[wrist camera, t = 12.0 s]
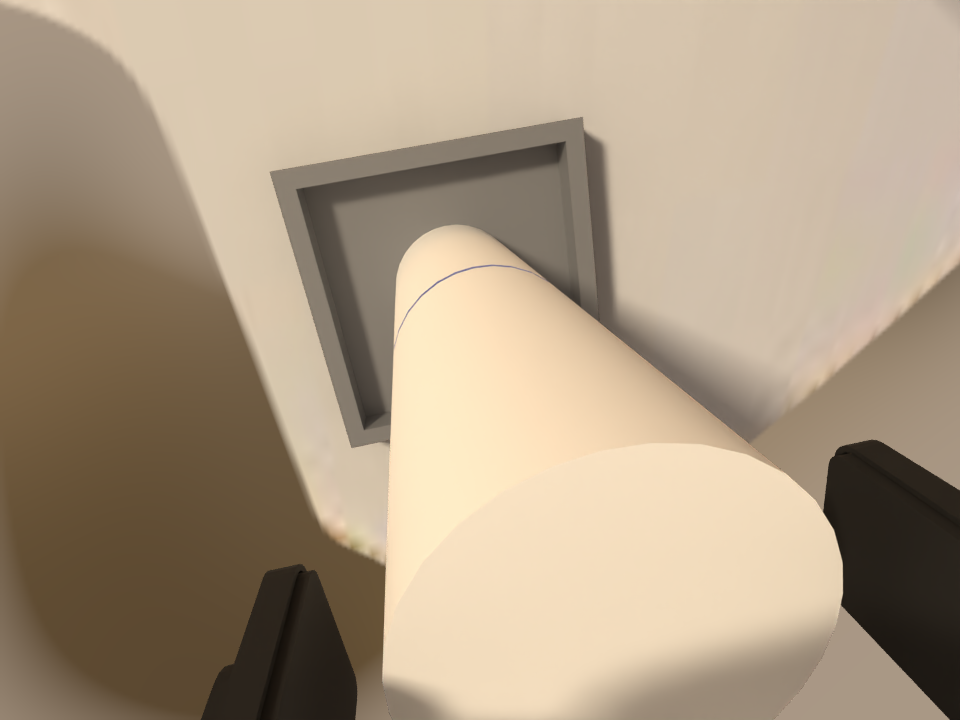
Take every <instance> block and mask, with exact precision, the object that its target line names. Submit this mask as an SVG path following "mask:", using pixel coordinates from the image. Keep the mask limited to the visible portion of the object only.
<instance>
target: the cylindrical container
mask: <svg viewBox="0 0 960 720" xmlns="http://www.w3.org/2000/svg"><path fill="white" fill-rule="evenodd" d="M842 596H843V562H842V558H841V554H840V551H839V547H838V543H837V540H836V536H835V532H834V530H833V528H832V526H831V525H830V523H829V521H828V520H827V518H826V516H825V515H824V513H823V512H822V510H821V508H820V507H819V505H818V504H817V502H816V500H815V499H814V498H812V496H810V495H809V494H808V493H807V492H806V491H805V490H804V489H803V488H801V487H800V486H799V485H798V484H797V483H796V482H795V481H794V480H793V479H791V478H790V477H789V476H788V475H787V474H786V473H785V472H783V471H782V470H781V469H780V468H778V467H777V466H776V465H775V464H773V463H772V462H771V461H770V460H769V459H767V458H766V457H765V456H764V455H762V454H761V453H760V452H759V451H757V450H756V449H755V448H754V447H753V446H751V445H750V444H749V443H748V442H746V441H745V440H744V439H743V438H741V437H740V436H739V435H738V434H736V433H735V432H734V431H733V430H732V429H730V428H729V427H728V426H727V425H725V424H724V423H723V422H722V421H720V420H719V419H718V418H717V417H715V416H714V415H713V414H712V413H711V412H709V411H708V410H707V409H706V408H704V407H703V406H702V405H701V404H699V403H698V402H697V401H696V400H694V399H693V398H692V397H691V396H690V395H688V394H687V393H686V392H685V391H683V390H682V389H681V388H680V387H678V386H677V385H676V384H675V383H673V382H672V381H671V380H670V379H669V378H667V377H666V376H665V375H664V374H662V373H661V372H660V371H659V370H657V369H656V368H655V367H654V366H652V365H651V364H650V363H649V362H648V361H646V360H645V359H644V358H643V357H641V356H640V355H639V354H638V353H636V352H635V351H634V350H633V349H631V348H630V347H629V346H628V345H627V344H625V343H624V342H623V341H622V340H620V339H619V338H618V337H617V336H615V335H614V334H613V333H612V332H610V331H609V330H608V329H607V328H605V327H604V326H603V325H602V324H600V323H599V322H598V321H597V320H596V319H594V318H593V317H592V316H591V315H589V314H588V313H587V312H586V311H584V310H583V309H582V308H581V307H579V306H578V305H577V304H576V303H574V302H573V301H572V300H571V299H569V298H568V297H567V296H566V295H565V294H563V293H562V292H561V291H560V290H558V289H557V288H556V287H555V286H553V285H552V284H551V283H550V282H548V281H547V280H546V279H545V278H543V277H542V276H541V275H540V274H539V273H537V272H536V271H535V270H534V269H532V268H531V267H530V266H529V265H527V264H526V263H525V262H524V261H523V260H521V259H520V258H519V257H518V256H516V255H515V254H514V253H513V252H511V251H510V250H509V249H508V248H506V247H505V246H504V245H503V244H501V243H500V242H499V241H498V240H496V239H495V238H494V237H493V236H492V235H490V234H488V233H486V232H484V231H483V230H481V229H478V228H474V227H471V226H467V225H448V226H443V227H439V228H436V229H433V230H431V231H429V232H427V233H426V234H424V235H422V236H421V237H420V238H419V239H417V240H416V241H415V242H414V243H413V244H412V245H411V246H410V248H409V249H408V250H407V251H406V253H405V254H404V256H403V258H402V260H401V262H400V264H399V268H398V272H397V276H396V296H395V322H394V354H393V383H392V409H391V436H390V464H389V494H388V524H387V555H386V585H385V615H384V646H383V676H382V678H383V679H382V683H383V687H384V691H385V696H386V701H387V706H388V710H389V714H390V716H391V718H392V720H774V719H775V718H776V717H777V716H778V714H779V713H780V712H781V711H782V710H783V709H784V708H785V706H787V705H788V703H789V702H790V701H791V700H792V699H793V698H794V697H795V696H796V695H797V694H798V692H799V691H800V690H801V689H802V688H803V686H804V684H805V683H806V682H807V680H808V678H809V677H810V675H811V674H812V672H813V671H814V669H815V668H816V666H817V665H818V663H819V662H820V660H821V659H822V657H823V655H824V652H825V650H826V648H827V645H828V643H829V641H830V638H831V636H832V634H833V631H834V629H835V627H836V623H837V619H838V614H839V609H840V605H841V600H842Z"/></svg>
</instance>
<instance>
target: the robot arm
mask: <svg viewBox="0 0 960 720" xmlns="http://www.w3.org/2000/svg"><path fill="white" fill-rule="evenodd" d="M823 513H824V515H825V516H826V518H827V520H828V521H829V523H830V525H831V526H832V528H833V530H834V532H835V536H836V540H837V543H838V547H839V551H840V554H841V558H842V562H843V596H842V600H841V605H842V607H843V608H845V610H846V611H847V612H848V613H849V614H850V615H851V616H852V617H853V618H854V619H855V620H856V621H857V622H858V623H859V625H861V627H863V629H864V630H865V631H866V632H867V633H868V634H869V635H870V636H871V637H872V638H873V639H874V640H875V641H876V642H877V643H878V644H879V646H880V647H881V648H882V649H883V650H884V651H885V652H886V653H887V654H888V655H889V656H890V657H891V658H892V659H893V660H894V661H895V662H896V663H897V665H898V666H899V667H901V668H902V670H903V671H904V672H905V673H906V674H907V675H908V676H909V677H910V678H911V679H912V680H913V681H914V682H915V683H916V684H917V686H918V687H919V688H920V689H921V690H922V691H923V692H924V693H925V694H926V695H927V696H928V697H929V698H930V699H931V700H932V701H933V702H934V703H935V705H937V707H938V708H939V709H940V710H941V711H942V712H943V713H944V714H945V715H946V716H947V717H948V718H949V719H950V720H960V490H958V489H956V488H955V487H953V486H952V485H950V484H948V483H947V482H945V481H943V480H942V479H940V478H939V477H937V476H935V475H934V474H932V473H931V472H929V471H927V470H926V469H924V468H923V467H921V466H919V465H918V464H916V463H914V462H913V461H911V460H910V459H908V458H906V457H905V456H903V455H901V454H900V453H898V452H897V451H895V450H893V449H892V448H890V447H889V446H887V445H885V444H884V443H882V442H879V441H877V440H868V441H863V442H859V443H854V444H849V445H845V446H842V447H839V448H838V449H837V451H836V453H835V456H834V457H832V458H831V459H830V462H829V467H828V476H827V485H826V494H825V501H824V510H823ZM356 704H357V684H356V678H355V674H354V671H353V668H352V666H351V663H350V660H349V658H348V655H347V652H346V650H345V647H344V644H343V641H342V639H341V636H340V633H339V631H338V628H337V625H336V623H335V620H334V617H333V615H332V612H331V609H330V606H329V604H328V601H327V598H326V596H325V593H324V590H323V587H322V585H321V582H320V580H319V577H318V574H317V572H316V571H315V570H312V571H306V569H305V567H304V566H303V565H302V564H298V565H293V566H289V567H284V568H280V569H275V570H270V571H268V572H266V573H265V575H264V577H263V580H262V583H261V586H260V589H259V592H258V595H257V598H256V601H255V604H254V607H253V610H252V612H251V616H250V618H249V621H248V625H247V628H246V631H245V633H244V636H243V639H242V642H241V645H240V649H239V651H238V654H237V657H236V660H235V663H234V664H232V665H228V666H225V667H224V668H223V669H222V670H221V672H219V674H218V676H217V678H216V680H215V683H214V685H213V688H212V691H211V693H210V696H209V699H208V702H207V704H206V707H205V710H204V713H203V716H202V718H201V720H355V715H356Z"/></svg>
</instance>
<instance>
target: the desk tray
mask: <svg viewBox="0 0 960 720" xmlns="http://www.w3.org/2000/svg"><path fill="white" fill-rule="evenodd" d="M270 175H271V178H272V181H273V185H274V188H275V191H276V195H277V198H278V202H279V205H280V208H281V212H282V215H283V218H284V222H285V225H286V229H287V232H288V235H289V239H290V242H291V245H292V249H293V252H294V256H295V259H296V262H297V266H298V269H299V272H300V276H301V279H302V283H303V286H304V289H305V293H306V296H307V299H308V303H309V306H310V310H311V313H312V316H313V320H314V323H315V326H316V330H317V333H318V337H319V340H320V343H321V347H322V350H323V353H324V357H325V360H326V364H327V367H328V370H329V374H330V377H331V380H332V384H333V387H334V391H335V394H336V397H337V401H338V404H339V408H340V411H341V414H342V418H343V421H344V424H345V428H346V431H347V435H348V438H349V441H350V445H351V448H354V447H359V446H364V445H368V444H373V443H378V442H382V441H387V440H390V436H391V409H392V383H393V354H394V322H395V296H396V276H397V272H398V268H399V264H400V262H401V260H402V258H403V256H404V254H405V253H406V251H407V250H408V249H409V248H410V246H411V245H412V244H413V243H414V242H415V241H416V240H417V239H419V238H420V237H421V236H422V235H424V234H426V233H427V232H429V231H431V230H433V229H436V228H439V227H443V226H448V225H467V226H471V227H474V228H478V229H481V230H483V231H484V232H486V233H488V234H490V235H492V236H493V237H494V238H495V239H496V240H498V241H499V242H500V243H501V244H503V245H504V246H505V247H506V248H508V249H509V250H510V251H511V252H513V253H514V254H515V255H516V256H518V257H519V258H520V259H521V260H523V261H524V262H525V263H526V264H527V265H529V266H530V267H531V268H532V269H534V270H535V271H536V272H537V273H539V274H540V275H541V276H542V277H543V278H545V279H546V280H547V281H548V282H550V283H551V284H552V285H553V286H555V287H556V288H557V289H558V290H560V291H561V292H562V293H563V294H565V295H566V296H567V297H568V298H569V299H571V300H572V301H573V302H574V303H576V304H577V305H578V306H579V307H581V308H582V309H583V310H584V311H586V312H587V313H588V314H589V315H591V316H592V317H593V318H594V319H596V320H597V321H598V322H599V312H598V299H597V287H596V275H595V262H594V250H593V238H592V226H591V213H590V201H589V189H588V177H587V164H586V152H585V140H584V127H583V117H580V118H574V119H569V120H563V121H557V122H552V123H546V124H540V125H534V126H529V127H523V128H517V129H512V130H506V131H500V132H494V133H489V134H483V135H477V136H472V137H466V138H460V139H454V140H449V141H443V142H437V143H432V144H426V145H420V146H414V147H409V148H403V149H397V150H392V151H386V152H380V153H374V154H369V155H363V156H357V157H352V158H346V159H340V160H334V161H329V162H323V163H317V164H312V165H306V166H300V167H294V168H289V169H283V170H277V171H272V172H270Z"/></svg>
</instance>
